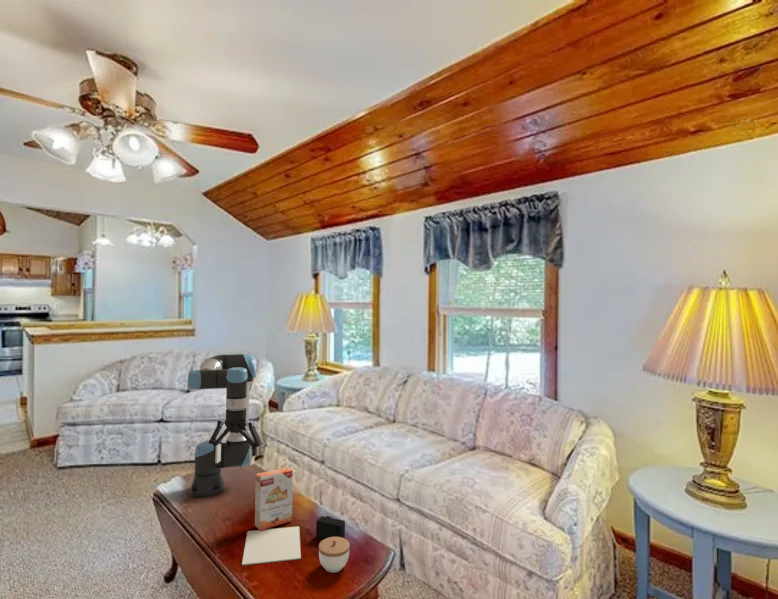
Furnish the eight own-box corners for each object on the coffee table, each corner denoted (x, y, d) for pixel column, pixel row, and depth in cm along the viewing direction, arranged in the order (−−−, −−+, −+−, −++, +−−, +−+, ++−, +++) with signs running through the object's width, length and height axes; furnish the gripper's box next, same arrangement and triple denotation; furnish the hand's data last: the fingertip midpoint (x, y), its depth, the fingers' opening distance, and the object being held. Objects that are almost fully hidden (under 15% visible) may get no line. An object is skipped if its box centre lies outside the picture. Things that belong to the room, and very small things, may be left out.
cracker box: (260, 531, 170) (260, 477, 172) (254, 526, 175) (254, 473, 177) (293, 521, 179) (292, 469, 181) (286, 516, 184) (286, 466, 185)
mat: (247, 532, 171) (247, 531, 171) (299, 527, 176) (299, 526, 176) (241, 565, 150) (241, 564, 150) (300, 558, 154) (300, 557, 154)
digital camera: (346, 536, 169) (346, 519, 169) (340, 544, 164) (340, 525, 164) (322, 531, 173) (322, 514, 173) (316, 538, 168) (316, 520, 168)
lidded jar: (319, 558, 155) (319, 532, 155) (349, 557, 156) (350, 531, 156) (316, 577, 144) (317, 549, 144) (349, 576, 145) (349, 548, 145)
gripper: (200, 409, 165) (198, 464, 165) (263, 412, 162) (262, 468, 162) (210, 404, 172) (209, 457, 172) (270, 407, 170) (269, 461, 170)
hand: (234, 463), depth 167 cm, fingers open, 13 cm apart
